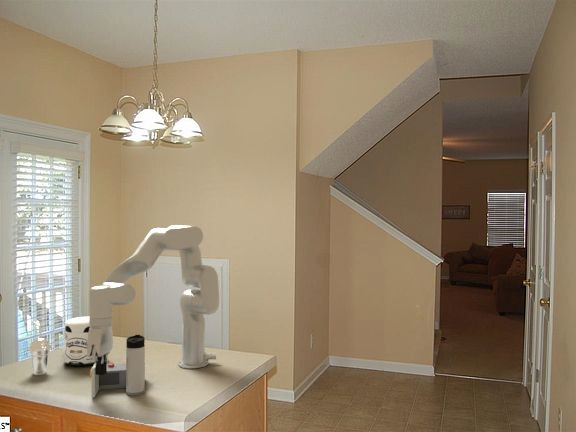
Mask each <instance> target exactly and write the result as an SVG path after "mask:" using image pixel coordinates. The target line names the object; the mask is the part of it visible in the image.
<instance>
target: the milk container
mask: <svg viewBox="0 0 576 432" xmlns="http://www.w3.org/2000/svg"><path fill="white" fill-rule="evenodd" d="M89 328H90V327H89V315H88V316H79V317H77V316H76V317H73V318H70V319H67V320H66V321H65V322H64V345H63V349H62V359H63V361H64V363H65V364H68V365H69V366H78V367H79V366H90V365H94V364H95V361H92V356H90V357H89V356H87V342H88V333H89Z"/></svg>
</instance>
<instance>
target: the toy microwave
mask: <svg viewBox="0 0 576 432" xmlns="http://www.w3.org/2000/svg"><path fill="white" fill-rule="evenodd" d="M125 388H126V363H113V362H112V363H108V364H107V373H106V374H104V375H99V390H111V389H113V390H114V389H125Z"/></svg>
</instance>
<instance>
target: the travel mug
mask: <svg viewBox="0 0 576 432" xmlns="http://www.w3.org/2000/svg"><path fill="white" fill-rule="evenodd" d="M125 346H126V349H125V350H126V351H125V352H126V356H125V357H126V358H125V359H126V361H125V362H126V363H125V364H126V390H125V394H126V395H128V396H130V397H136V396H140V395H143V394H144V393H145V384H146V383H145V380H146V377H145V376H146V362H145V357H146V356H145V354H146V351H145V350H146V348H145V336H143V335H141V334H135V335H132V336H129V337H127V338H126V345H125Z"/></svg>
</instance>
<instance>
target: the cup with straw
mask: <svg viewBox="0 0 576 432" xmlns="http://www.w3.org/2000/svg"><path fill="white" fill-rule="evenodd" d="M31 323H32V324H34V325H36V326H38V327H39V334H38V335H39V336H38V337H39V338H35V339H33V340H32V341H31V344H30V346H29V347H28V349H27V351H29V352H30V356H31V363H32V372H33V375H35V376H39V375H40V376H41V375H45V374H47V369H48V363H49V355H50V351H51V349H52V348H53V347H52V344H50V341H49V340H47V339H46V338H44V337H42V325H41V324H39V323H38V322H35V321H34V320H32V321H31Z"/></svg>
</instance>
